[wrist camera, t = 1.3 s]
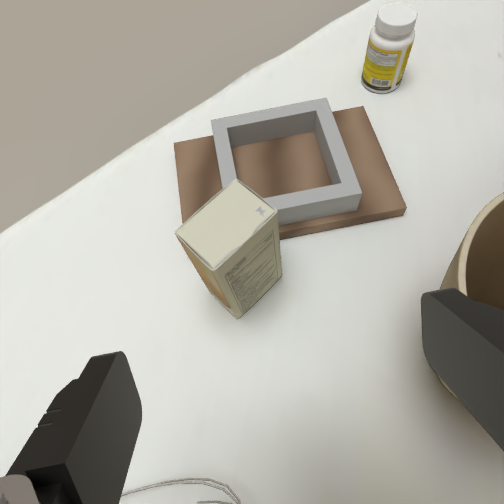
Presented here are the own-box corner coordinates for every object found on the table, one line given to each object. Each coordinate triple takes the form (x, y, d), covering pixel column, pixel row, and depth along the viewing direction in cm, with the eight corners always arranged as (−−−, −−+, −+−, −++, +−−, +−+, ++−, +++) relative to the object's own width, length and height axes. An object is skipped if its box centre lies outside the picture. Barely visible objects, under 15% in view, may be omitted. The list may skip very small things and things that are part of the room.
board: (360, 115, 45) (363, 106, 44) (402, 215, 39) (406, 207, 37) (177, 151, 45) (173, 143, 43) (189, 257, 39) (185, 250, 37)
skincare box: (252, 248, 38) (238, 173, 27) (283, 276, 37) (282, 207, 26) (204, 292, 37) (170, 230, 26) (235, 323, 35) (212, 271, 24)
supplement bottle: (386, 62, 48) (405, -7, 41) (408, 85, 46) (431, 17, 39) (353, 75, 48) (365, 8, 40) (373, 99, 46) (390, 33, 38)
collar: (323, 118, 43) (326, 97, 40) (356, 210, 38) (362, 192, 35) (215, 139, 43) (210, 120, 40) (232, 235, 38) (228, 219, 35)
